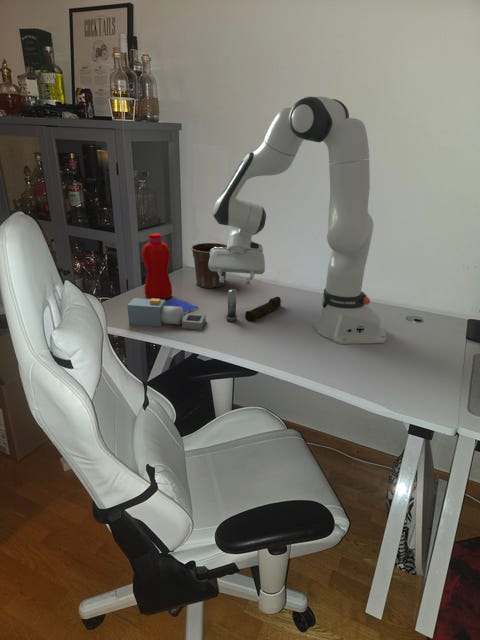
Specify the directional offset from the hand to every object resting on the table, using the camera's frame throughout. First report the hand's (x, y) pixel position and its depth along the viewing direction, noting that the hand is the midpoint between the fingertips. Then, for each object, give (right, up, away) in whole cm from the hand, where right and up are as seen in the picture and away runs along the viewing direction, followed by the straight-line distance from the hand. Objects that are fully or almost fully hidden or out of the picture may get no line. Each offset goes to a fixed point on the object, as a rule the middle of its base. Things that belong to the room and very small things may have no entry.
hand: (234, 282), depth 143 cm
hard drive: (-21, -9, +8) cm, 24 cm away
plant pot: (-11, +2, +33) cm, 35 cm away
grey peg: (-1, -13, -1) cm, 13 cm away
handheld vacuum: (-23, -14, -5) cm, 27 cm away
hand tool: (+11, -11, +5) cm, 16 cm away
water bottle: (-31, -4, +17) cm, 36 cm away
